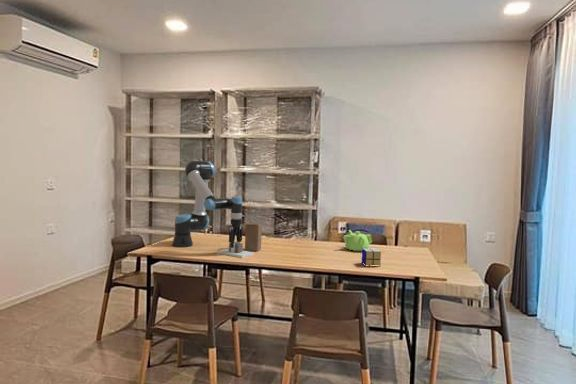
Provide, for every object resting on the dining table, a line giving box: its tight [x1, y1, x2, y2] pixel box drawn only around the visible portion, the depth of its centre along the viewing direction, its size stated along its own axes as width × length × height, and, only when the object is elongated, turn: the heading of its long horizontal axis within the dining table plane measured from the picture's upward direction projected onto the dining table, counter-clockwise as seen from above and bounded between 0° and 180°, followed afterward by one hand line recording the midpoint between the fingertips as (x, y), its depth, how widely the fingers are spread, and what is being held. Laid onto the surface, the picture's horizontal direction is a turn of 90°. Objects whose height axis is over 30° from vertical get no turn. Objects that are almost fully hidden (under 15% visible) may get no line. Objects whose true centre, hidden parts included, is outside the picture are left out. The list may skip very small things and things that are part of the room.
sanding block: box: [228, 241, 244, 253], centre depth 304 cm, size 8×5×6 cm, turn 60°
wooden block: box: [244, 221, 263, 253], centre depth 319 cm, size 10×10×20 cm
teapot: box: [342, 229, 373, 252], centre depth 335 cm, size 19×20×14 cm
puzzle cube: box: [361, 248, 382, 266], centre depth 286 cm, size 10×10×10 cm
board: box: [216, 247, 255, 258], centre depth 305 cm, size 22×14×2 cm, turn 60°
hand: (235, 251), depth 305 cm, fingers closed on sanding block, 5 cm apart
